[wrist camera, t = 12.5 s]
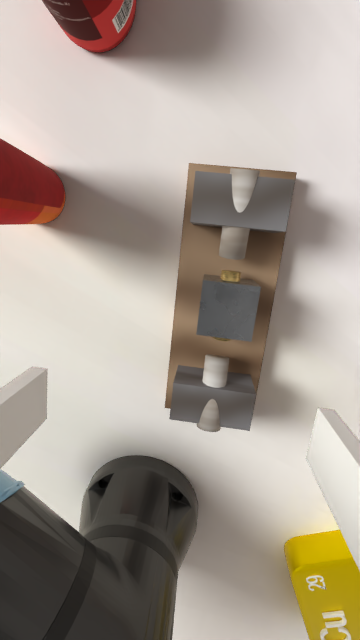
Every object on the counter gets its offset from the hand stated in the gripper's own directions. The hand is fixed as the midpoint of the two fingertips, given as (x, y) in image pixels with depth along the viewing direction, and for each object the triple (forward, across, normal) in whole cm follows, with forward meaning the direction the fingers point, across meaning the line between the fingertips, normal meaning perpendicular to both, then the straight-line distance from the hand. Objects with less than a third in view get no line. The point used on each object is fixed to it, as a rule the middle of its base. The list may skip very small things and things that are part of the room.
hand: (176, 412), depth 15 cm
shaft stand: (+20, -3, -2) cm, 21 cm away
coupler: (+18, -3, -3) cm, 19 cm away
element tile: (+22, -25, +32) cm, 46 cm away
